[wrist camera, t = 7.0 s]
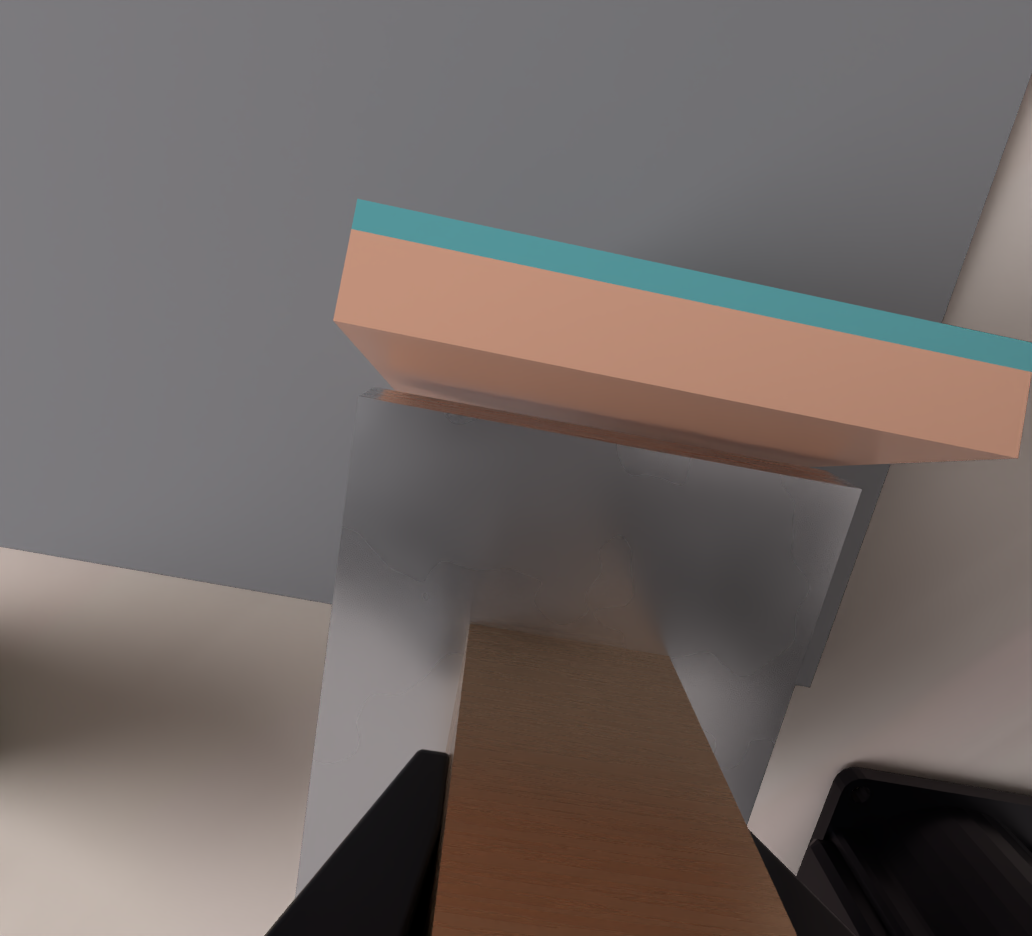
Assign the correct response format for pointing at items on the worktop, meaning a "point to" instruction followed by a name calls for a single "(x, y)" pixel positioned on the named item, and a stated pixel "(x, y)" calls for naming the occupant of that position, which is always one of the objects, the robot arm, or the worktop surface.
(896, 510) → the worktop surface
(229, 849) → the worktop surface
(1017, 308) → the worktop surface
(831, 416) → the tile
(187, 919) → the worktop surface
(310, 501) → the mat
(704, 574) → the brown block on base
